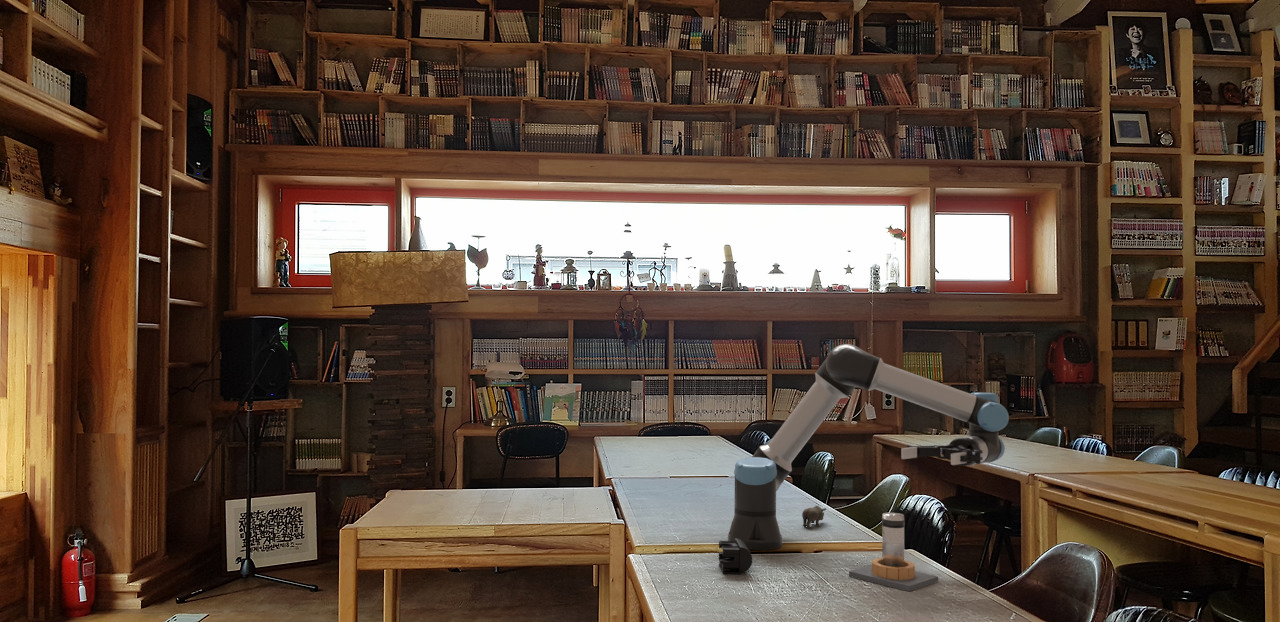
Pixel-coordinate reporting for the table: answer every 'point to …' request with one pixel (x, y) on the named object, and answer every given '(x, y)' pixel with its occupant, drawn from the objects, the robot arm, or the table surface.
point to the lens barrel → (893, 539)
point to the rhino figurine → (812, 515)
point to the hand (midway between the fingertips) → (926, 456)
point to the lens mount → (894, 575)
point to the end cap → (734, 557)
